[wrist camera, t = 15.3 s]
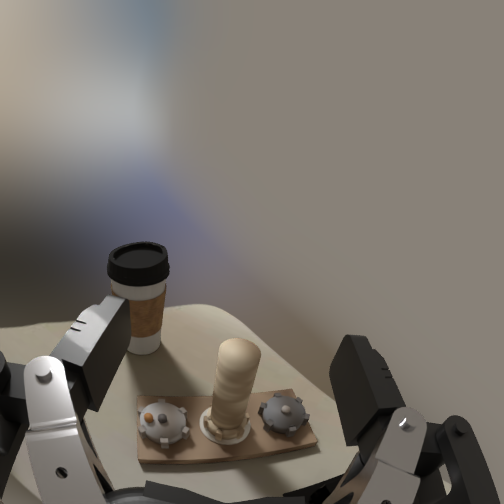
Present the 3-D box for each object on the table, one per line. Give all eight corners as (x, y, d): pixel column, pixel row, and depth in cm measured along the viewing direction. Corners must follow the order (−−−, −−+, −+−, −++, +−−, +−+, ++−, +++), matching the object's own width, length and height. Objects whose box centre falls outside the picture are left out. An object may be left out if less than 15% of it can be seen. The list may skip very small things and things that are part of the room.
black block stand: (360, 462, 25) (377, 444, 24) (386, 504, 19) (407, 489, 17) (265, 492, 21) (275, 479, 20) (287, 546, 15) (302, 540, 13)
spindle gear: (206, 442, 25) (215, 372, 20) (200, 409, 29) (207, 334, 25) (251, 438, 26) (276, 368, 22) (242, 407, 30) (260, 333, 26)
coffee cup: (179, 348, 40) (183, 258, 34) (130, 368, 34) (121, 272, 28) (150, 319, 45) (151, 235, 39) (106, 334, 39) (97, 245, 33)
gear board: (139, 463, 21) (134, 450, 20) (138, 401, 29) (135, 384, 28) (314, 445, 27) (323, 432, 26) (289, 393, 35) (296, 378, 34)
